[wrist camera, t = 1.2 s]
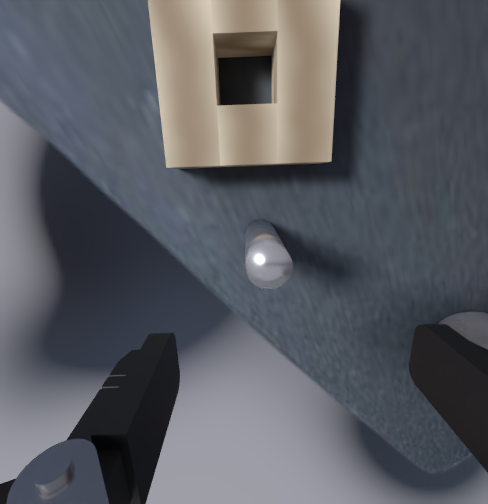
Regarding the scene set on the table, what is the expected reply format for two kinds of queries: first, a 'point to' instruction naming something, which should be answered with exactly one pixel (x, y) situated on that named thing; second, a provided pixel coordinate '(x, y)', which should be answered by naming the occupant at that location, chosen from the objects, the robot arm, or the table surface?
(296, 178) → the table surface
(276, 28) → the oak hole block
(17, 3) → the table surface
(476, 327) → the pillar candle
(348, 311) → the table surface
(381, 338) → the table surface
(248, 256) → the steel pin
